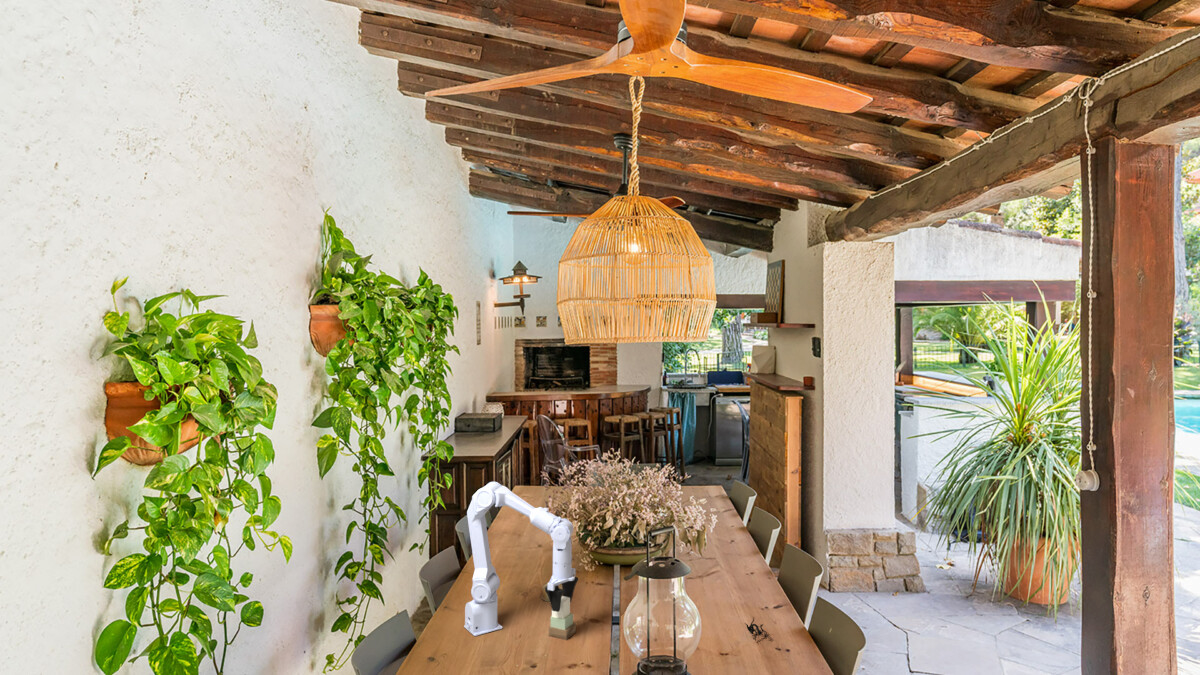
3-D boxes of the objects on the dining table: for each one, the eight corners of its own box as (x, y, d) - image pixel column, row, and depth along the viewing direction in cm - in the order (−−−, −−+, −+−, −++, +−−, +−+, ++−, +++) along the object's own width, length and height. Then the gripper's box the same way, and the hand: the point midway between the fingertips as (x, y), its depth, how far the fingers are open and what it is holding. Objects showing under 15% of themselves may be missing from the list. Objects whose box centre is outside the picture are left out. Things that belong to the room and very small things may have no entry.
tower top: (564, 630, 196) (565, 620, 196) (550, 626, 198) (550, 616, 198) (573, 623, 200) (573, 613, 200) (558, 620, 203) (558, 610, 203)
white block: (563, 619, 197) (563, 602, 197) (551, 616, 198) (551, 599, 198) (569, 614, 200) (570, 597, 200) (558, 611, 202) (558, 595, 202)
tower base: (566, 641, 195) (566, 631, 195) (548, 637, 198) (548, 627, 198) (575, 632, 201) (575, 623, 201) (558, 629, 203) (558, 619, 203)
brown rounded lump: (541, 613, 223) (544, 595, 220) (537, 589, 232) (539, 572, 229) (570, 610, 226) (572, 592, 222) (564, 587, 235) (567, 570, 231)
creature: (775, 641, 199) (751, 627, 203) (779, 624, 198) (755, 611, 203) (764, 650, 192) (740, 636, 197) (768, 633, 192) (743, 620, 197)
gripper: (562, 570, 191) (562, 617, 191) (584, 556, 204) (584, 599, 204) (541, 567, 194) (541, 613, 194) (564, 552, 207) (563, 595, 207)
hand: (561, 606), depth 199 cm, fingers open, 7 cm apart
